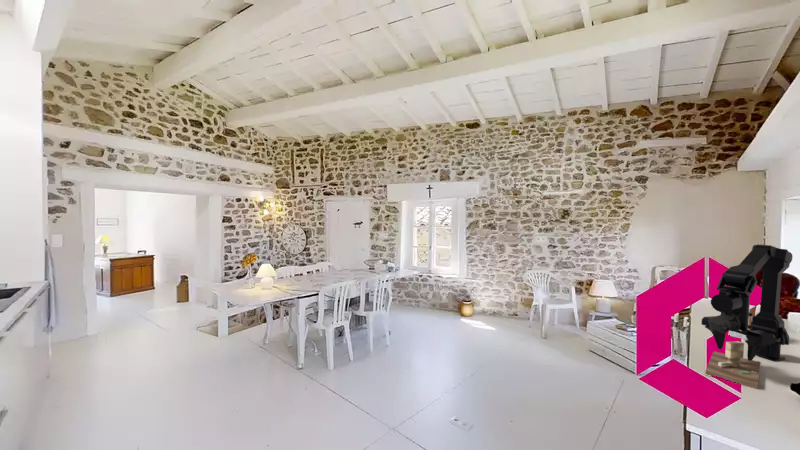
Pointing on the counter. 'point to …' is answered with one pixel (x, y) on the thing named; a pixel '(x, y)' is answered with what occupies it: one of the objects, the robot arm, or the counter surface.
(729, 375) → the board
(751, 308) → the small box
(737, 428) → the counter surface
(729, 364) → the beige wooden angled piece
